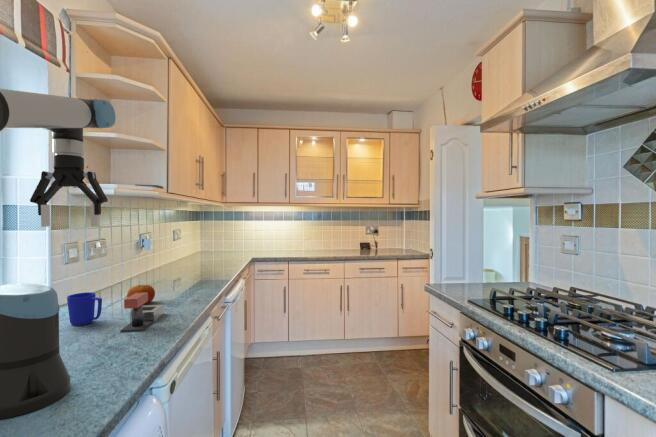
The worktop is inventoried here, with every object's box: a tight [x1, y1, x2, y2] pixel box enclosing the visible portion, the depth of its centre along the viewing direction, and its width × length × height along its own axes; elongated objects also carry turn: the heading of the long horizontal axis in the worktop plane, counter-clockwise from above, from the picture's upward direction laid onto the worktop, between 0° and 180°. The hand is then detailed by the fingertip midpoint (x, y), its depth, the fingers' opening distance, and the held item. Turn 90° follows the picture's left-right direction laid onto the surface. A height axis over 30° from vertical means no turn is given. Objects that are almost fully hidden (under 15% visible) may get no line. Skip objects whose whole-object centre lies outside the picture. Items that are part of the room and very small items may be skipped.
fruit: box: [126, 284, 156, 305], centre depth 147 cm, size 11×10×8 cm
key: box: [123, 292, 148, 327], centre depth 117 cm, size 4×9×10 cm, turn 7°
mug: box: [66, 292, 103, 326], centre depth 122 cm, size 8×12×10 cm
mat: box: [120, 321, 154, 333], centre depth 118 cm, size 9×7×1 cm
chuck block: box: [129, 304, 165, 324], centre depth 127 cm, size 10×8×4 cm
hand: (70, 226), depth 105 cm, fingers open, 13 cm apart
